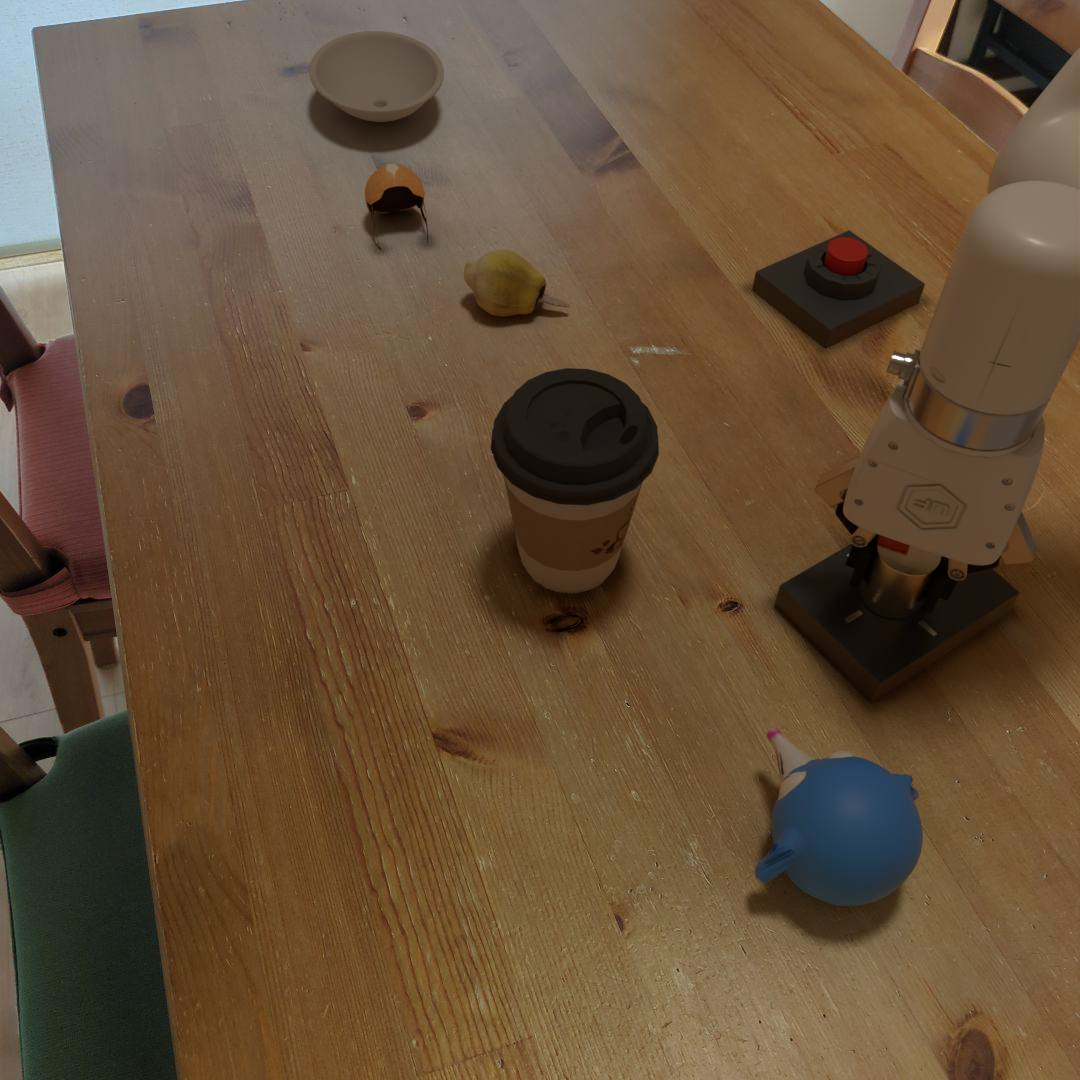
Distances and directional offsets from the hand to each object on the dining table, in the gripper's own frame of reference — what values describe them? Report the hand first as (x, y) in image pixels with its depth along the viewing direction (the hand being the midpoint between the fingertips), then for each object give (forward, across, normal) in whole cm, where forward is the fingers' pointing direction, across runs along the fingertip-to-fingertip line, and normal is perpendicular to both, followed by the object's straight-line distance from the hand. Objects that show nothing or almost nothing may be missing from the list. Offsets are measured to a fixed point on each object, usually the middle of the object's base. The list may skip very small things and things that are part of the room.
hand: (894, 583), depth 78 cm
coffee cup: (+4, -23, -5) cm, 24 cm away
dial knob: (+1, 0, 0) cm, 1 cm away
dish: (+4, -68, +44) cm, 81 cm away
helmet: (+4, -55, +26) cm, 61 cm away
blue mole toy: (+4, 0, -19) cm, 19 cm away
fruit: (+4, -39, +20) cm, 44 cm away
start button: (0, -13, +35) cm, 37 cm away
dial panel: (+4, 0, +1) cm, 4 cm away
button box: (+4, -13, +35) cm, 37 cm away
